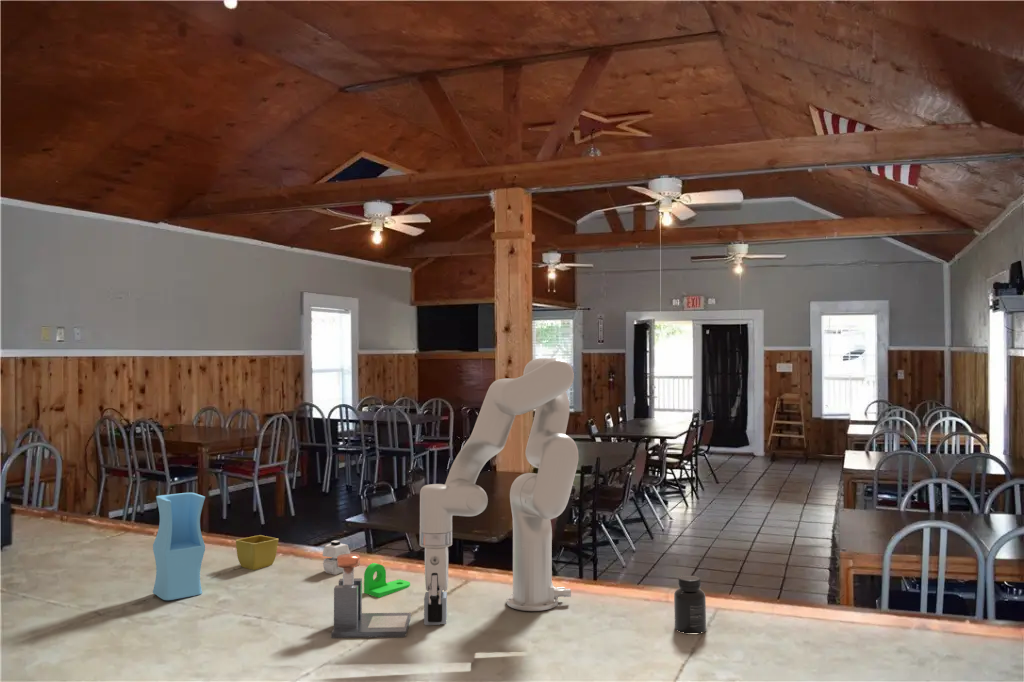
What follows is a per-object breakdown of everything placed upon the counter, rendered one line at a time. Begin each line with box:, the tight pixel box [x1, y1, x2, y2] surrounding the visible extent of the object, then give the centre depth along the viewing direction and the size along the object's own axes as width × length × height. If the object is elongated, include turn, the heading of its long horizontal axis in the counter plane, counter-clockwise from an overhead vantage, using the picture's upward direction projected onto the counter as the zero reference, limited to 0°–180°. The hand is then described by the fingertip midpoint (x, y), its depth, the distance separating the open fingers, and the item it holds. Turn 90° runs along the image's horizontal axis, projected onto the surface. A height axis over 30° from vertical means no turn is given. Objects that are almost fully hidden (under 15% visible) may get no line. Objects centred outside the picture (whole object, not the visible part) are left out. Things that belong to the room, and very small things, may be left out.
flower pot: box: [235, 534, 279, 571], centre depth 227 cm, size 9×9×9 cm
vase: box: [152, 492, 206, 601], centre depth 205 cm, size 10×10×25 cm
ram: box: [337, 553, 361, 585], centre depth 178 cm, size 5×5×12 cm
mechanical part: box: [363, 562, 411, 599], centre depth 205 cm, size 12×6×8 cm, turn 139°
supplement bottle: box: [673, 575, 707, 633], centre depth 175 cm, size 7×7×12 cm
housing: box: [423, 591, 448, 626], centre depth 182 cm, size 5×5×6 cm
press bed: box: [331, 577, 412, 639], centre depth 178 cm, size 16×13×10 cm
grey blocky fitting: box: [322, 540, 351, 575], centre depth 220 cm, size 6×7×10 cm
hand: (435, 616), depth 182 cm, fingers closed on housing, 4 cm apart
